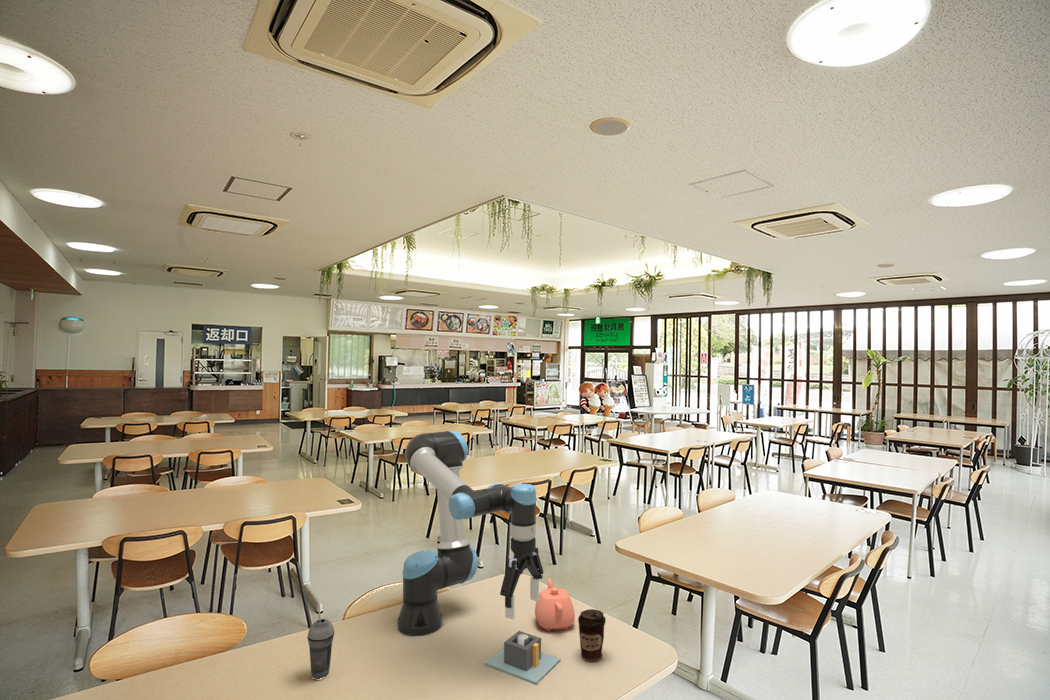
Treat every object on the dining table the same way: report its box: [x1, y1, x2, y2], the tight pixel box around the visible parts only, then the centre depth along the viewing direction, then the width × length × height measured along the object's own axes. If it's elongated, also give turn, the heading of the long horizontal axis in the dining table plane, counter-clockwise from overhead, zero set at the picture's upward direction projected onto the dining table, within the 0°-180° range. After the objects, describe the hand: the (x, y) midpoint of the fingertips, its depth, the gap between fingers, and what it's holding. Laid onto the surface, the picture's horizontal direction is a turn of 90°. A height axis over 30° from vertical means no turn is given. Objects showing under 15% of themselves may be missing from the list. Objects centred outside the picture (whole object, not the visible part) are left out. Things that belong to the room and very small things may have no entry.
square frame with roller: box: [503, 630, 542, 671], centre depth 155 cm, size 9×8×6 cm
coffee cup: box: [577, 608, 606, 663], centre depth 159 cm, size 9×8×13 cm
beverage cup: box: [306, 603, 335, 679], centre depth 149 cm, size 7×7×20 cm
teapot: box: [534, 577, 576, 632], centre depth 179 cm, size 13×20×12 cm, turn 8°
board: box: [484, 634, 562, 685], centre depth 155 cm, size 18×14×8 cm
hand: (522, 608), depth 156 cm, fingers open, 13 cm apart
